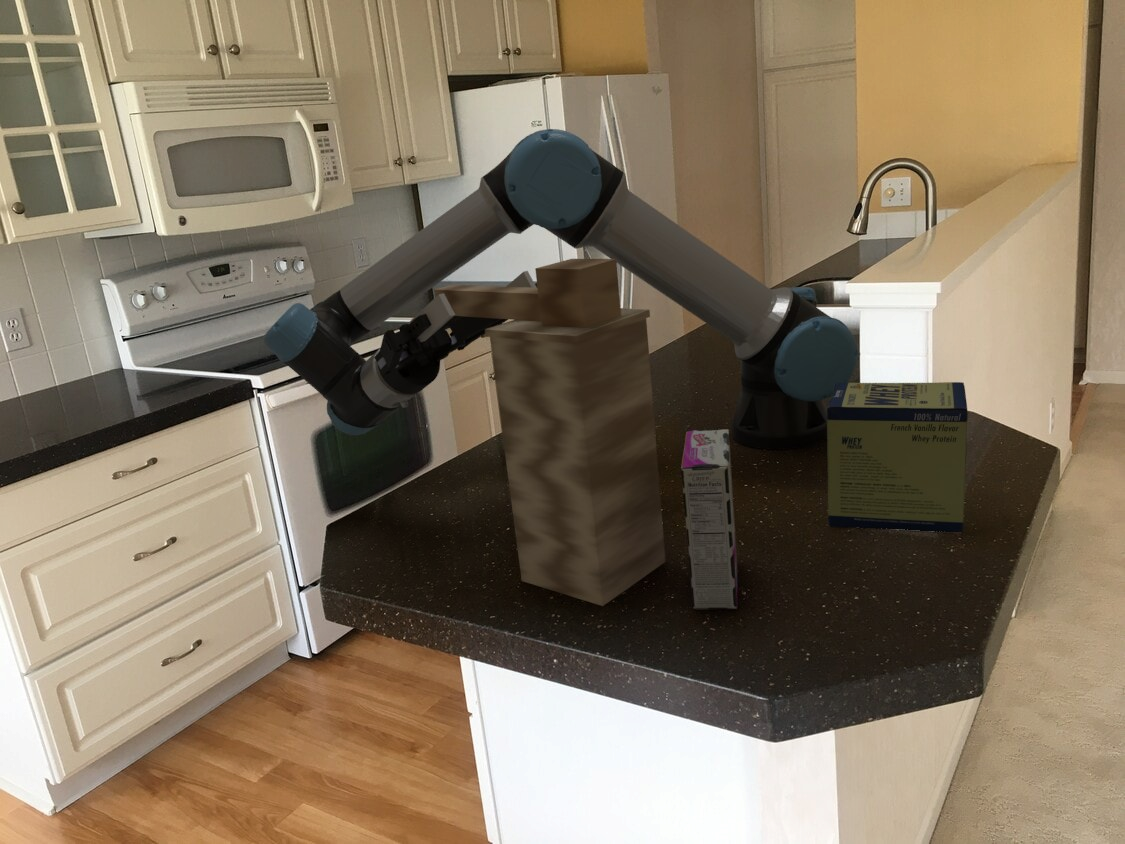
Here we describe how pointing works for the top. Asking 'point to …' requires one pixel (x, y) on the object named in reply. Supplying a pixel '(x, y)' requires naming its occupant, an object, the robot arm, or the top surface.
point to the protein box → (897, 455)
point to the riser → (580, 453)
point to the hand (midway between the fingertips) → (491, 292)
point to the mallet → (547, 296)
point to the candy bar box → (710, 519)
